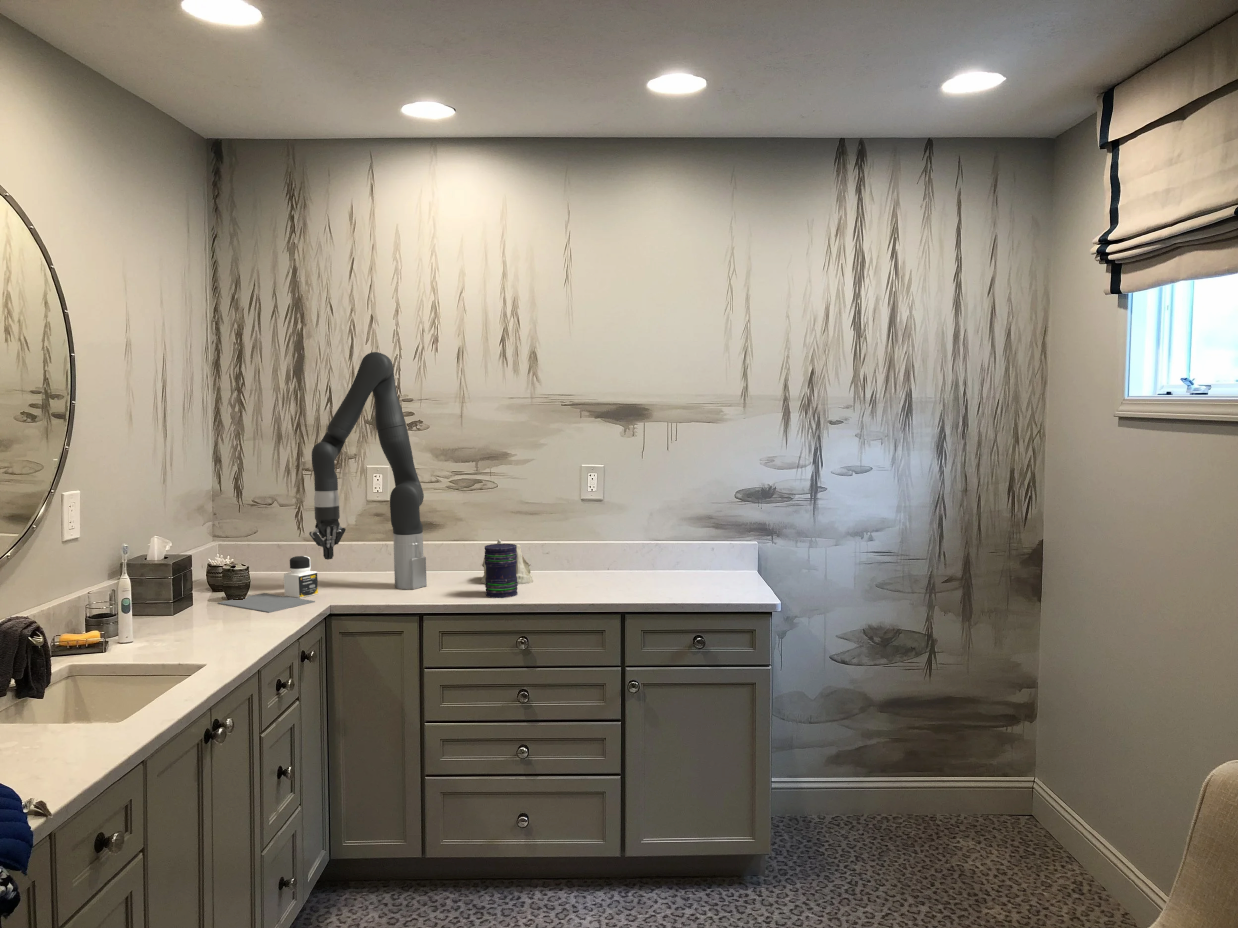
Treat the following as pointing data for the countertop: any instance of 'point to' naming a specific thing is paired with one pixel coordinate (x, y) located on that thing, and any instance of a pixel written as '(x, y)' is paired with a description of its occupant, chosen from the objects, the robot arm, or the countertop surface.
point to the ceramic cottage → (517, 568)
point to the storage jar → (501, 570)
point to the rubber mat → (267, 602)
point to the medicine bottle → (300, 578)
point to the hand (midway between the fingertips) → (328, 558)
